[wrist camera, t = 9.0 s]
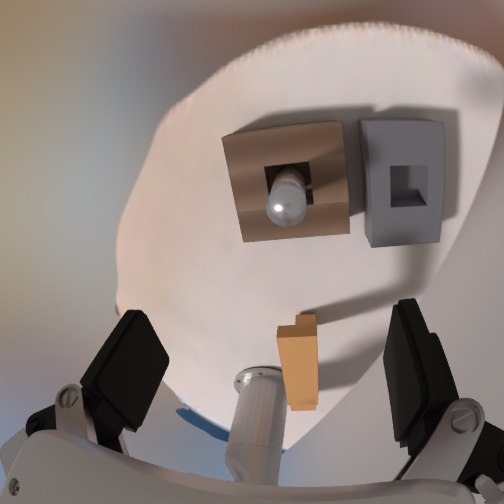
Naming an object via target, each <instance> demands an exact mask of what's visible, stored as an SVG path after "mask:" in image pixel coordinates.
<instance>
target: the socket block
mask: <svg viewBox="0 0 504 504" xmlns="http://www.w3.org/2000/svg"><path fill="white" fill-rule="evenodd" d="M222 143H223V148H224V152H225V157H226V162H227V167H228V172H229V176H230V181H231V186H232V191H233V195H234V200H235V205H236V210H237V214H238V219H239V224H240V229H241V233H242V238H243V242H255V241H266V240H278V239H289V238H301V237H313V236H326V235H338V234H350V219H349V198H348V183H347V170H346V159H345V149H344V139H343V131H342V123H341V122H339V121H322V122H311V123H301V124H292V125H284V126H276V127H269V128H262V129H256V130H249V131H243V132H238V133H232V134H229V135H226V136H224V137H222ZM285 165H295V166H297V167H299V168H300V169H301V170H302V171H303V173H304V177H305V191H306V206H307V210H306V215H305V217H304V218H303V220H302V221H301V222H300V223H298V224H297V225H295V226H291V227H283V226H279V225H277V224H275V223H274V222H273V221H272V220H271V219H270V218H269V216H268V214H267V211H266V204H267V201H268V198H269V195H270V192H271V189H272V186H273V183H274V180H275V178H276V175H277V172H278V170H279V169H280V168H281V167H283V166H285Z"/></svg>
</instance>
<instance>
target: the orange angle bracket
mask: <svg viewBox="0 0 504 504" xmlns="http://www.w3.org/2000/svg"><path fill="white" fill-rule="evenodd" d="M276 339H277V344H278V350H279V355H280V361H281V367H282V373H283V378H284V384H285V390H286V396H287V401H288V405H290V407H291V411H307V410H316V404H318V348H317V324H316V314H306V315H296V322H295V325H290V326H278V329H277V337H276Z"/></svg>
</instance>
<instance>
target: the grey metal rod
mask: <svg viewBox="0 0 504 504" xmlns="http://www.w3.org/2000/svg"><path fill="white" fill-rule="evenodd" d="M306 210H307V206H306V191H305V177H304V173H303V171H302V170H301V169H300V168H299V167H297V166H295V165H285V166H283V167H281V168H280V169H279V170H278V172H277V175H276V178H275V180H274V183H273V186H272V189H271V192H270V195H269V198H268V201H267V204H266V211H267V214H268V216H269V218H270V219H271V220H272V221H273V222H274V223H275V224H277V225H279V226H283V227H291V226H295V225H297V224H298V223H300V222H301V221H302V220H303V218H304V217H305V215H306Z"/></svg>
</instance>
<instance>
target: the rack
mask: <svg viewBox="0 0 504 504" xmlns="http://www.w3.org/2000/svg"><path fill="white" fill-rule="evenodd" d="M358 125H359V134H360V144H361V155H362V168H363V185H364V213H365V235H366V237H367V239H368V241H369V244H370V246H371V248H376V247H388V246H400V245H412V244H424V243H436V242H439V240H440V233H441V224H442V213H443V200H444V179H445V145H444V124H443V122H438V121H432V120H423V119H358Z"/></svg>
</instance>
